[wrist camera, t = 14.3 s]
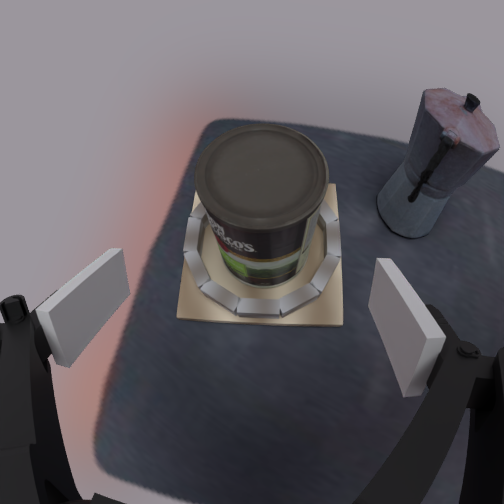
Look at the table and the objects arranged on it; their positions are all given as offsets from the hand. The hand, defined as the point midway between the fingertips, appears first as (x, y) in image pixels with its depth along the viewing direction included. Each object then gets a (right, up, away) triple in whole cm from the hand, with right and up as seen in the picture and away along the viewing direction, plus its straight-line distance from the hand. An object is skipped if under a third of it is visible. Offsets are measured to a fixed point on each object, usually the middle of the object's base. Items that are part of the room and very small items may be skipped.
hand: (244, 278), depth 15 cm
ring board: (+2, +2, +22) cm, 22 cm away
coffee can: (+2, +2, +21) cm, 21 cm away
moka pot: (+21, +6, +23) cm, 32 cm away
